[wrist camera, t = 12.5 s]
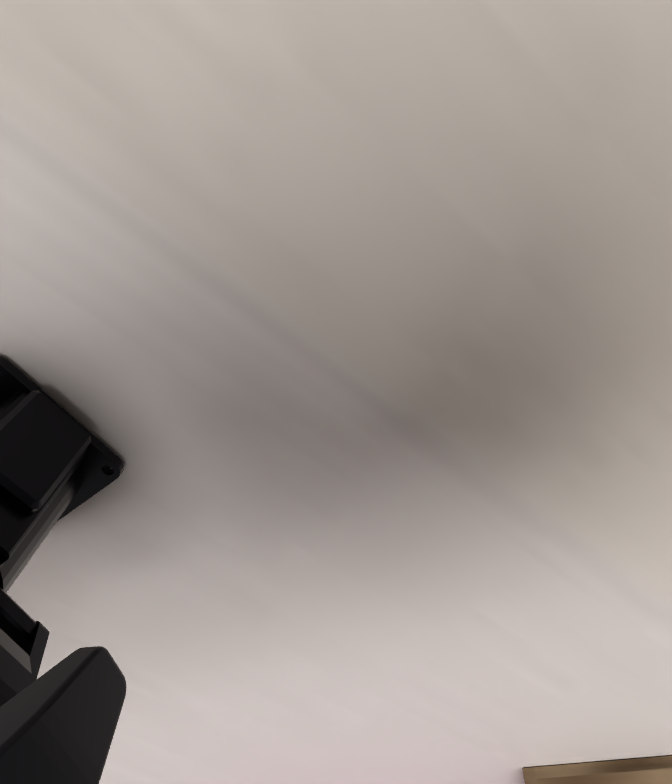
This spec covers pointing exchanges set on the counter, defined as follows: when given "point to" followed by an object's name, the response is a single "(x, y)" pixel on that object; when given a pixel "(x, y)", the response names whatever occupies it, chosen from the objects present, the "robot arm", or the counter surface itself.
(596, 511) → the counter surface
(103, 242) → the counter surface
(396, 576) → the counter surface
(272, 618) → the counter surface
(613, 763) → the open box
